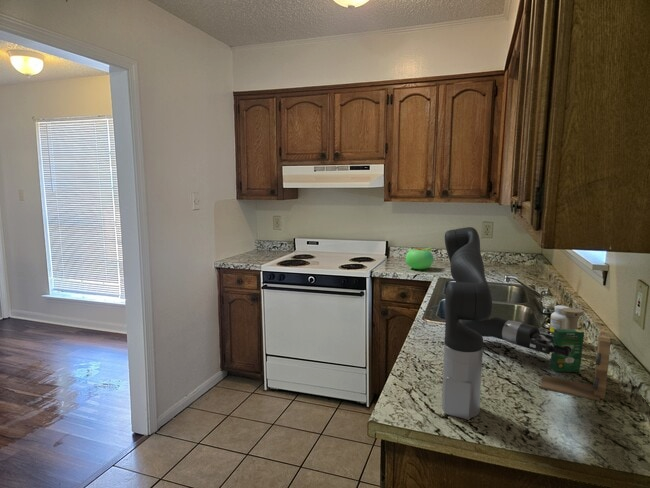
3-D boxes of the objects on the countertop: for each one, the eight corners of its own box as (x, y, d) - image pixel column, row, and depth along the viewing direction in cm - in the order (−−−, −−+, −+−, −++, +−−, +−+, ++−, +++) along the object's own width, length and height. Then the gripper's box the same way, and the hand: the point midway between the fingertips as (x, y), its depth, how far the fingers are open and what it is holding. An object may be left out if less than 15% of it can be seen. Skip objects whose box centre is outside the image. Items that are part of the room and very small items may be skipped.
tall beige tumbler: (555, 349, 143) (559, 307, 141) (574, 349, 143) (578, 308, 140) (562, 355, 138) (566, 312, 136) (582, 355, 138) (586, 312, 136)
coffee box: (575, 368, 129) (579, 328, 127) (581, 372, 126) (585, 331, 124) (549, 368, 129) (552, 328, 127) (554, 372, 126) (557, 331, 124)
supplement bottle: (567, 338, 153) (569, 305, 151) (572, 345, 146) (575, 310, 145) (547, 336, 155) (549, 303, 153) (551, 343, 148) (554, 309, 146)
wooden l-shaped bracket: (605, 402, 109) (611, 344, 107) (540, 388, 117) (544, 334, 114) (602, 383, 119) (607, 330, 117) (542, 371, 127) (546, 321, 124)
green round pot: (403, 270, 269) (404, 248, 267) (407, 265, 285) (407, 244, 282) (432, 272, 263) (433, 249, 261) (434, 267, 279) (434, 245, 277)
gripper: (510, 328, 132) (566, 343, 120) (530, 318, 141) (584, 331, 129) (509, 350, 133) (563, 367, 121) (529, 339, 142) (582, 354, 130)
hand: (574, 349), depth 125 cm, fingers closed on coffee box, 7 cm apart
